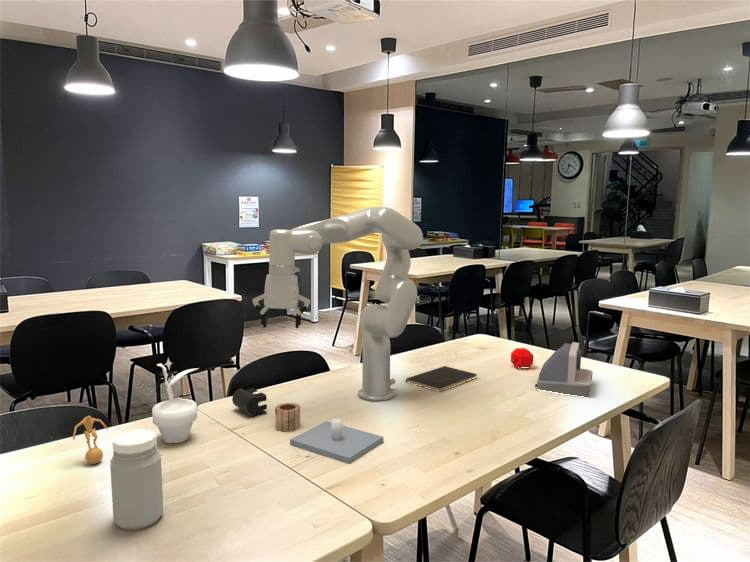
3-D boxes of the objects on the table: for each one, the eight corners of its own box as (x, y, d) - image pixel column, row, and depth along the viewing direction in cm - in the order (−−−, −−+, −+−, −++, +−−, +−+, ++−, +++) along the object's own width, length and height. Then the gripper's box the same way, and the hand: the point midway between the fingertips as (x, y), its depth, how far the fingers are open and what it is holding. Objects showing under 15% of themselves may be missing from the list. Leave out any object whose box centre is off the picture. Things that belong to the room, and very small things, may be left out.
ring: (287, 420, 170) (286, 401, 169) (304, 425, 166) (304, 406, 165) (270, 427, 164) (270, 408, 163) (288, 433, 160) (288, 413, 159)
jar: (102, 526, 113) (96, 441, 111) (138, 502, 122) (134, 424, 120) (139, 536, 110) (135, 449, 107) (174, 511, 119) (170, 431, 117)
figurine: (80, 471, 137) (76, 424, 135) (71, 463, 141) (67, 417, 139) (114, 460, 143) (112, 415, 141) (105, 453, 147) (102, 409, 145)
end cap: (232, 410, 178) (231, 390, 177) (252, 405, 183) (251, 385, 182) (247, 419, 171) (246, 398, 170) (267, 414, 175) (267, 393, 174)
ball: (508, 365, 231) (509, 347, 230) (527, 364, 232) (528, 346, 231) (515, 370, 223) (516, 352, 222) (534, 370, 224) (535, 351, 223)
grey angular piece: (587, 400, 190) (590, 357, 188) (527, 390, 200) (529, 349, 198) (599, 384, 207) (602, 344, 205) (543, 375, 218) (545, 337, 216)
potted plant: (154, 451, 148) (150, 359, 145) (153, 435, 158) (148, 349, 155) (204, 443, 153) (201, 354, 150) (199, 428, 163) (196, 344, 160)
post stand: (326, 425, 166) (326, 404, 165) (383, 441, 155) (383, 419, 154) (290, 444, 153) (289, 421, 152) (349, 463, 142) (349, 439, 141)
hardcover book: (476, 379, 213) (477, 374, 213) (439, 393, 197) (439, 387, 196) (443, 371, 224) (443, 365, 224) (405, 383, 208) (405, 377, 207)
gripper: (311, 270, 171) (310, 325, 173) (254, 268, 170) (254, 324, 172) (310, 273, 164) (309, 330, 166) (250, 271, 163) (250, 329, 165)
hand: (281, 327), depth 169 cm, fingers open, 9 cm apart
